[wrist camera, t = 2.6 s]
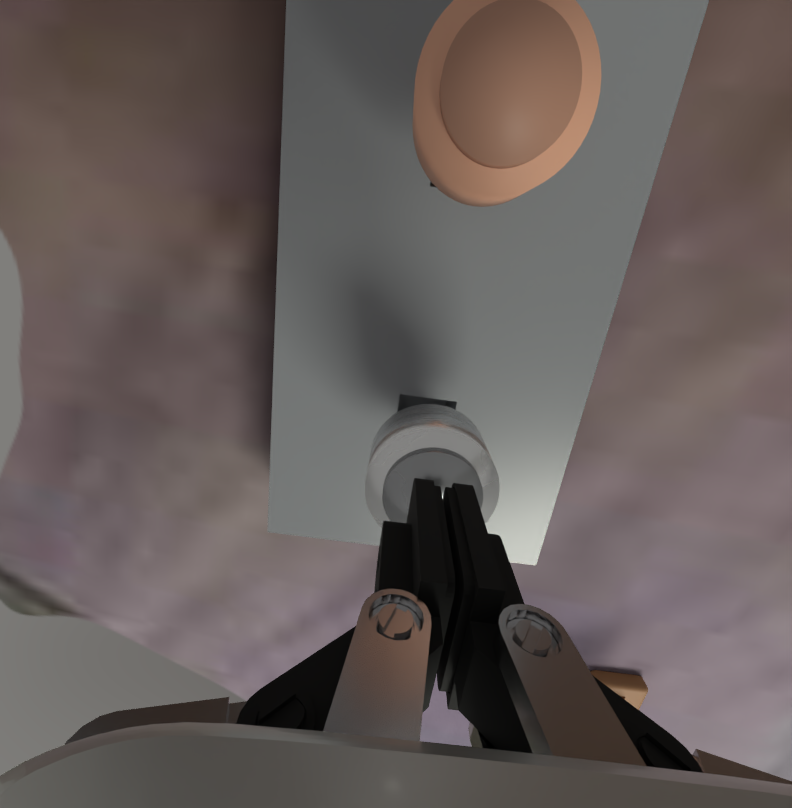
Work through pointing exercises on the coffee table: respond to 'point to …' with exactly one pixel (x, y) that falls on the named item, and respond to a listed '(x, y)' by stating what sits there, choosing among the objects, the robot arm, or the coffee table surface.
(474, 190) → the knob middle
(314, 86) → the knob panel
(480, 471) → the knob
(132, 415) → the coffee table surface
